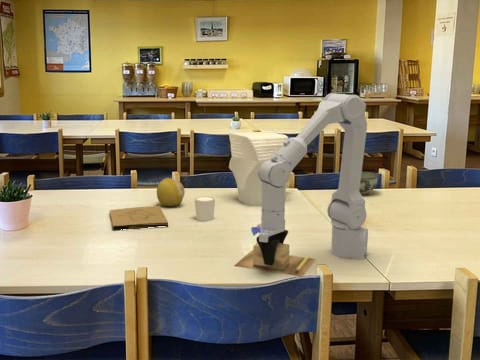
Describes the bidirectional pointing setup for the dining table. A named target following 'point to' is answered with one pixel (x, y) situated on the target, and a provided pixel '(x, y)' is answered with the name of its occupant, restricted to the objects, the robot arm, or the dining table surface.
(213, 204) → the shot glass
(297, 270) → the pencil
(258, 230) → the hard drive
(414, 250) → the dining table surface
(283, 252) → the block
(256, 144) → the paper stack
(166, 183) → the fruit
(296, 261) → the board
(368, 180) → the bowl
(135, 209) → the box
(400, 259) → the dining table surface
